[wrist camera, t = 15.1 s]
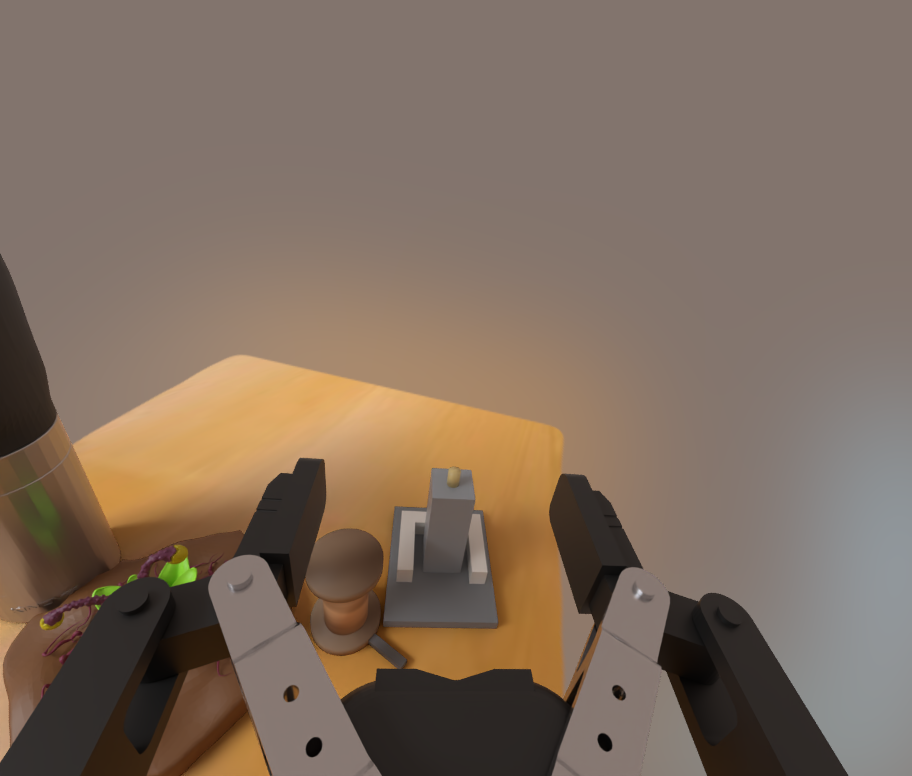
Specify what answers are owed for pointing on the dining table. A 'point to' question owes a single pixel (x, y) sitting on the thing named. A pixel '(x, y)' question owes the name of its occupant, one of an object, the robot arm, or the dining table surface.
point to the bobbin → (347, 594)
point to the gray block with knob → (447, 519)
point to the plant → (58, 631)
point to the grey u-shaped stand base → (437, 579)
